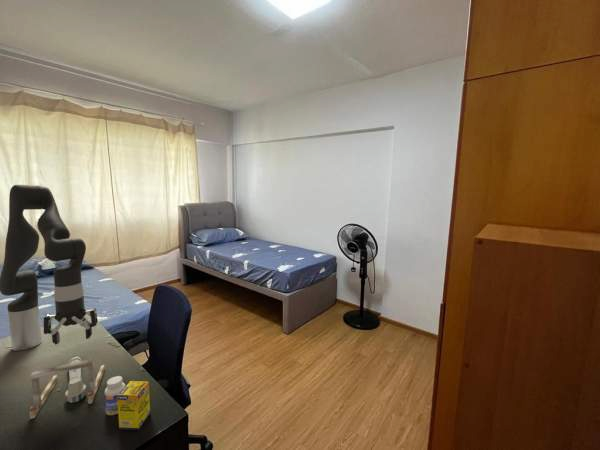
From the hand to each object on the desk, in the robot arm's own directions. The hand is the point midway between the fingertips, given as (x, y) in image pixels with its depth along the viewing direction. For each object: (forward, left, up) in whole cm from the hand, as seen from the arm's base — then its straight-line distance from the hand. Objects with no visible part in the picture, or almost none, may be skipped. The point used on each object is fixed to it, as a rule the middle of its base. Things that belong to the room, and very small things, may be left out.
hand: (73, 340), depth 94 cm
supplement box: (+28, +21, -16) cm, 39 cm away
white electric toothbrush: (0, 0, -16) cm, 16 cm away
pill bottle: (+20, +15, -16) cm, 30 cm away
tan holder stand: (+5, 0, -16) cm, 17 cm away
